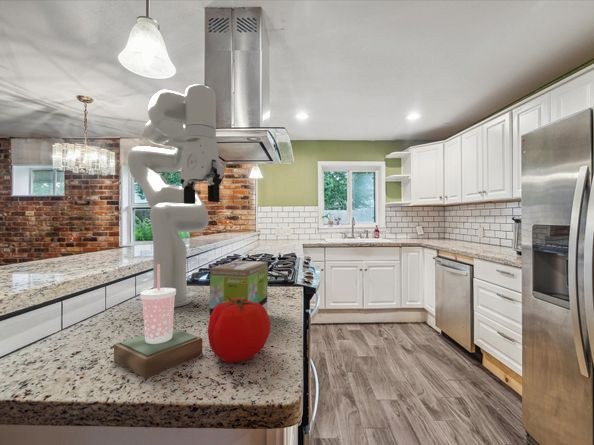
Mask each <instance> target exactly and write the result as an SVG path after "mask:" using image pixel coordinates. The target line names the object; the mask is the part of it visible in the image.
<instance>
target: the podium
mask: <svg viewBox="0 0 594 445" xmlns="http://www.w3.org/2000/svg"><path fill="white" fill-rule="evenodd" d="M200 355H203V337H201V336H197V335H195V334H192V333H190V332H189V333H188V332H185V331H184V330H183V331H182V330H180V329H178V328H174V327H173V333H172V338H171V339H170V340H169V341H166V342H163V343H157V344H149V343H146V341H145V333H144V334H142V335H138V336H135V337H132V338H129V339H125V340H122V341H120V342H117V343H114V344H113V361H114V362H115V363H117V364H119V365H121V366H123V367H125V368H126V369H127V370H130V371H132V372H134V373H135V374H137V375H139V376H141V377H142V378H144V379H147V378H150V377H152V376H155V375H157V374H159V373H161V372H164V371H166V370H168V369H170V368H172V367H176V366H177V365H179V364H183V363H184V362H186V361H189V360H191V359H193V358H195V357H198V356H200Z"/></svg>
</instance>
